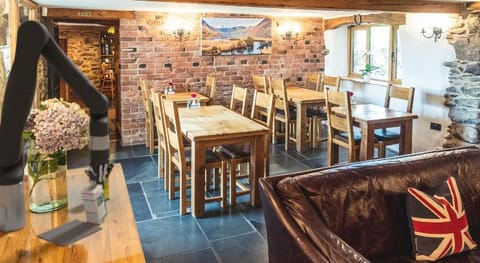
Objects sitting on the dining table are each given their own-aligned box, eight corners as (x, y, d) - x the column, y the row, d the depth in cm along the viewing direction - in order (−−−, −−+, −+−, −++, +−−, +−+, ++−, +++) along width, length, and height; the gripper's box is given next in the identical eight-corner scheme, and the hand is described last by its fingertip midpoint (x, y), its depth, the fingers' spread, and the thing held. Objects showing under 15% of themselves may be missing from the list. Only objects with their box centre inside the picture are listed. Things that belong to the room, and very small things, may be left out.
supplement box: (109, 199, 185) (109, 175, 183) (100, 204, 180) (100, 179, 177) (98, 197, 187) (97, 173, 185) (89, 201, 182) (88, 177, 179)
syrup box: (100, 224, 160) (94, 192, 154) (86, 222, 161) (80, 190, 155) (107, 215, 165) (102, 184, 159) (94, 213, 166) (88, 182, 160)
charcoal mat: (64, 246, 142) (64, 246, 142) (37, 236, 149) (37, 235, 149) (102, 228, 157) (102, 228, 157) (76, 219, 163) (76, 219, 163)
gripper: (105, 141, 166) (106, 183, 170) (78, 148, 155) (79, 193, 159) (119, 144, 163) (119, 187, 167) (92, 151, 152) (93, 197, 155)
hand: (100, 190), depth 163 cm, fingers closed
